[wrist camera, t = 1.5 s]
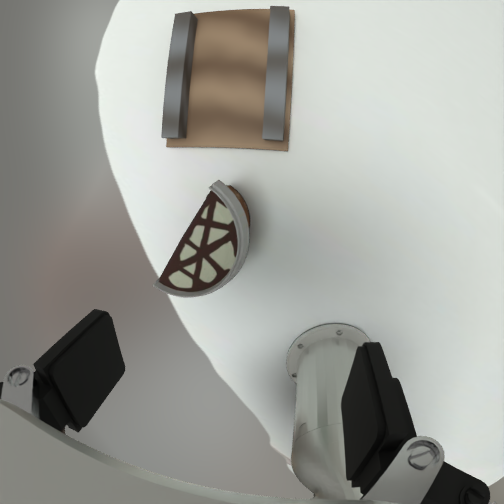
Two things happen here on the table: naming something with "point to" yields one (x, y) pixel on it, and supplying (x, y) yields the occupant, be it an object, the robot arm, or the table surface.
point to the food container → (209, 246)
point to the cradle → (230, 79)
